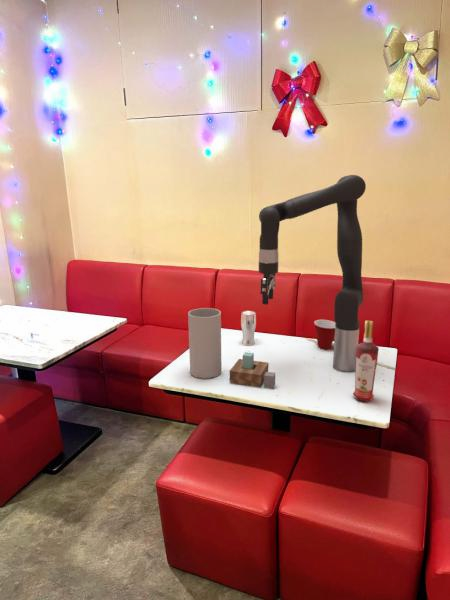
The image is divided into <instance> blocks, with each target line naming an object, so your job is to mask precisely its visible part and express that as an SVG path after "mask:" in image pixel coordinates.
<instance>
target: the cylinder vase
mask: <svg viewBox="0 0 450 600" xmlns="http://www.w3.org/2000/svg"><path fill="white" fill-rule="evenodd" d="M221 314H222V312H221V310H219V309H216V308H213V307H211V308H210V307H203V308H202V307H200V308H195V309H191V310H189V311H188V314H187V315H188V316H187V317H188V318H187V319H188V350H189V373H190V374H191V376H193V377H195V378H197V379H204V380H206V379H212V378H217V377H218V376H219V375H221V373H222V315H221Z"/></svg>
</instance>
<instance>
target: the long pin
mask: <svg viewBox="0 0 450 600" xmlns="http://www.w3.org/2000/svg"><path fill="white" fill-rule="evenodd" d="M254 356H255V355H254V352H247V351H245V352H244V353H243V354H242V359H243V369H250V370H254V361H255V360H254V359H255V357H254Z"/></svg>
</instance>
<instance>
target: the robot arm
mask: <svg viewBox="0 0 450 600" xmlns="http://www.w3.org/2000/svg"><path fill="white" fill-rule="evenodd" d="M366 187H367V185H366V182H365V179H363V177H361V176H360V175H358V174H349V175H345V176H342V177H340V178H339V180H338V181H337V183H335V184H333V185H330V186H328V187H324V188H323V189H319V190H316V191H312V192H308V193H305V194H301V195H298V196H295V197H292V198H290V199H287V200H286V201H283V202H278V203H275V204H272V205H267V206H266V207H264V208H263V207H262V209H261V210H260V211H259V214H258V219H259V221H260V236H259V251H258V273H260V275H261V274H263V277H262V278H261V279H260V295H262V296H261V297H262V299H261V300H262V305H265V306H268V304H269V300H273V299H274V290H275V287H276V274H278V273H279V259H280V257H279V254H280V253H279V230H280V222H282V221H285V220H290V219H291V220H292V219H295V218H298V217H302V216H304V215H307V214H309V213H313V212H315V211H317V210H320V209H322V208H325V207H327V206H331V205H334V204H336V209H337V227H336V229H337V230H336V233H337V234H336V237H337V239H336V249H337V251H336V252H337V258H338V262H339V265H340V267H341V272H342V273H341V274H342V285H341V286H342V287H341V290H339V291H338V292H337V293H336V295H335V297H334V304H333V305H334V307H333V308H334V311H333V315H334V316H333V318H334V322H335V335H334V339H333V357H332V358H333V360H332V368H334V369H335V370H337V371H339V372H347V373H348V372H350V373H351V372H355V371H356V345H358V344H359V336H360V326H361V325H360V324H361V323H360V321H359V308H360V307H361V306H362V304H363V302H364V289H363V280H362V267H363V266H362V265H363V234H362V229H361V225H360V222H359V217H358V199H360V198H361V197H362V196H363V195H364V194H365V192H366Z"/></svg>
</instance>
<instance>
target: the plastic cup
mask: <svg viewBox="0 0 450 600" xmlns="http://www.w3.org/2000/svg"><path fill="white" fill-rule="evenodd" d="M313 322H314V326H315V327H314V328H315V334H316V341H317V348H318V349H319V348H320V350H322V349H324V350H325V351H327V350H328V349H329V350H331V349H332V346H333V343H334V339H335V321H333V320H328V319H317V320H314V321H313ZM329 350H328V351H329Z"/></svg>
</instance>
